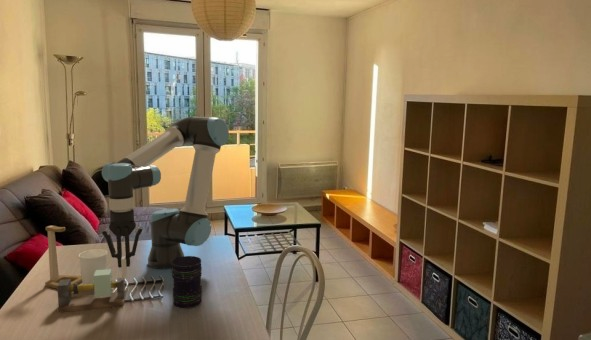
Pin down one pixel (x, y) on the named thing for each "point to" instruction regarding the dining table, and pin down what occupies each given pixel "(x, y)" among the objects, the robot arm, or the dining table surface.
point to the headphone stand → (53, 260)
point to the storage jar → (187, 282)
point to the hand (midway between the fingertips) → (124, 275)
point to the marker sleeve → (103, 282)
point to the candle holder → (92, 264)
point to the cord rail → (88, 296)
